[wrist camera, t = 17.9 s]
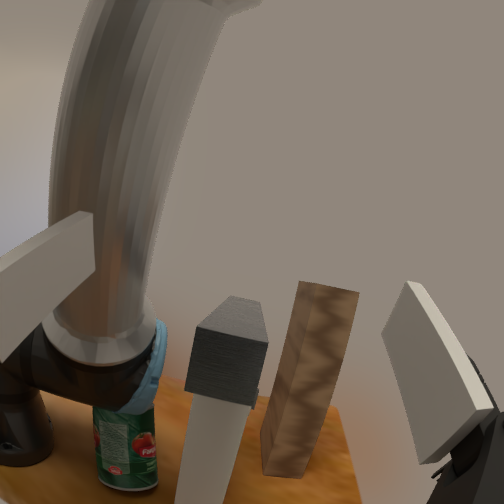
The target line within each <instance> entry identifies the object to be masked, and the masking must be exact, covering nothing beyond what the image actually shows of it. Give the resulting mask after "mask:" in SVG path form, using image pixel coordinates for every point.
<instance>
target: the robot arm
mask: <svg viewBox="0 0 504 504" xmlns="http://www.w3.org/2000/svg"><path fill="white" fill-rule="evenodd" d="M262 1H263V0H89V2H88V5H87V7H86V10H85V13H84V15H83V18H82V22H81V24H80V26H79V30H78V33H77V36H76V39H75V42H74V45H73V48H72V52H71V55H70V59H69V63H68V67H67V70H66V74H65V78H64V83H63V88H62V92H61V97H60V102H59V107H58V113H57V118H56V125H55V132H54V140H53V147H52V157H51V168H50V181H49V205H48V206H49V207H48V212H49V213H48V228H47V229H45V230H44V231H42V232H40V233H38V234H37V235H35V236H34V237H32V238H30V239H28V240H27V241H25V242H24V243H22V244H20V245H19V246H17V247H15V248H14V249H12V250H11V251H9V252H8V253H6V254H5V255H3V256H2V257H0V464H3V465H8V466H27V465H32V464H35V463H37V462H40V461H42V460H43V459H45V458H46V457H47V456H48V455H49V454H50V453H51V451H52V449H53V446H54V432H53V425H52V422H51V420H50V417H49V416H48V414H47V413H46V410H45V406H44V403H43V400H42V397H41V394H40V390H42V391H45V392H48V393H51V394H54V395H57V396H60V397H63V398H66V399H70V400H73V401H76V402H80V403H83V404H87V405H90V406H94V407H98V408H102V409H106V410H110V411H112V412H113V413H116V414H117V413H118V414H119V413H126V414H132V415H140V414H143V413H145V412H146V411H147V410H148V409H149V408H150V406H151V404H152V402H153V400H154V398H155V395H156V392H157V389H158V383H159V378H160V377H161V373H162V370H163V365H164V360H165V354H166V347H167V327H166V325H165V324H164V322H162V321H160V320H158V319H157V318H156V314H155V310H154V307H153V304H152V303H151V301H150V299H149V298H148V296H147V295H146V294H145V293H146V286H147V282H148V276H149V271H150V266H151V261H152V256H153V251H154V246H155V241H156V237H157V232H158V228H159V223H160V219H161V215H162V211H163V206H164V203H165V198H166V194H167V191H168V187H169V183H170V179H171V175H172V172H173V168H174V165H175V161H176V158H177V154H178V151H179V148H180V144H181V141H182V137H183V135H184V131H185V128H186V125H187V122H188V119H189V115H190V113H191V110H192V107H193V104H194V101H195V98H196V95H197V92H198V89H199V86H200V84H201V81H202V78H203V75H204V73H205V70H206V67H207V65H208V62H209V60H210V57H211V54H212V52H213V50H214V47H215V45H216V42H217V40H218V37H219V35H220V33H221V30H222V28H223V26H224V23H225V22H226V20H228V18H229V17H230V16H233V15H235V14H238V13H240V12H243V11H246V10H249V9H252V8H254V7H257V6H258V5H260V4H261V3H262ZM381 335H382V338H383V341H384V343H385V346H386V349H387V352H388V355H389V358H390V361H391V364H392V367H393V370H394V373H395V376H396V380H397V383H398V386H399V389H400V393H401V396H402V399H403V403H404V406H405V410H406V413H407V417H408V421H409V424H410V428H411V432H412V436H413V440H414V444H415V448H416V452H417V456H418V461H419V464H420V465H422V464H429V463H436V462H438V461H440V460H441V459H442V458H443V457H445V456H446V455H447V454H448V453H449V452H450V454H451V458H452V459H451V460H450V461H449V462H448V463H447V464H445V465H444V466H443V467H442V468H440V469H439V470H438V471H436V472H435V473H434V474H433V476H432V477H431V478H433V479H434V478H435V477H436V476H437V475H439V474H440V473H442V474H441V476H440V478H439V479H438V480H437V484H436V486H435V489H434V490H433V492H432V494H431V496H430V498H429V500H428V502H427V504H504V412H501V413H500V411H499V409H498V407H497V405H496V403H495V401H494V399H493V397H492V395H491V393H490V391H489V389H488V387H487V385H486V383H484V379H483V377H482V375H480V374H479V373H480V372H479V370H478V368H477V366H476V365H475V363H474V361H473V360H472V359H471V358H470V357H469V356H468V355H467V354H466V353H465V352H464V350H463V348H462V347H461V345H460V343H459V341H458V340H457V338H456V336H455V335H454V333H453V332H452V330H451V328H450V327H449V325H448V324H447V322H446V320H445V319H444V317H443V316H442V314H441V313H440V311H439V310H438V308H437V306H436V305H435V303H434V302H433V300H432V299H431V297H430V296H429V295H428V293H427V292H426V290H425V289H424V287H423V286H422V285H421V284H420V283H415V282H411V281H406V282H405V284H404V287H403V289H402V291H401V294H400V296H399V298H398V300H397V302H396V304H395V307H394V309H393V311H392V313H391V315H390V317H389V319H388V321H387V323H386V325H385V327H384V329H383V331H382V333H381Z"/></svg>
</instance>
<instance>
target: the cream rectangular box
mask: <svg viewBox="0 0 504 504" xmlns="http://www.w3.org/2000/svg"><path fill="white" fill-rule="evenodd" d="M258 393H259V389H258V388H257V391H256V395H255V399H254V403H253V406H252V407H251V406H246V405H241V404H237V403H232V402H227V401H223V400H219V399H214V398H210V397H206V396H202V395H198V394H195V393H194V395H193V400H192V405H191V410H190V416H189V421H188V426H187V432H186V437H185V443H184V449H183V454H182V460H181V466H180V472H179V478H178V484H177V490H176V496H175V502H174V504H223V500H224V497H225V494H226V490H227V487H228V484H229V480H230V477H231V473H232V470H233V466H234V463H235V459H236V456H237V452H238V449H239V445H240V441H241V438H242V434H243V431H244V427H245V423H246V419H247V416H249V413H250V410H251V409H253V410H254V408H255V404H256V400H257V396H258Z"/></svg>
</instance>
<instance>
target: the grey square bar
mask: <svg viewBox="0 0 504 504" xmlns="http://www.w3.org/2000/svg"><path fill="white" fill-rule="evenodd" d="M268 343H269V342H268V337H267V333H266V328H265V323H264V319H263V314H262V310H261V305H260V302H257V301H252V300H247V299H243V298H239V297H235V296H230V297H228V298H227V299H226V300H225V301H224V302H223V303H222V304H221V305H220V306H219V307H217V308H216V309H215V310H214V311H213V312H212V313H211V314H210V315H209V316H208V317H206V318H205V319H204V320H203V321H202V322H201V323H200V324H199V325H197V327H196V332H195V337H194V342H193V347H192V352H191V357H190V362H189V367H188V373H187V378H186V383H185V388H184V391H187V392H191V393H195V394H198V395H202V396H206V397H210V398H214V399H219V400H223V401H227V402H232V403H237V404H241V405H246V406H251V407H252V406H253V403H254V399H255V395H256V391H257V387H258V383H259V379H260V376H261V372H262V368H263V364H264V360H265V356H266V351H267V348H268Z"/></svg>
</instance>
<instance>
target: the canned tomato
mask: <svg viewBox="0 0 504 504" xmlns="http://www.w3.org/2000/svg"><path fill="white" fill-rule="evenodd" d="M92 407H93V413H92V414H93V427H94V440H95V451H96V461H97V469H98V478H99V480H100V481H101V482H102V483H103V484H105V485H107V486H109V487H111V488H114V489H118V490H124V491H142V490H147V489H151V488H153V487H155V486H156V485H157V484H158V474H157V461H156V445H155V427H154V425H155V423H154V404H153V403H152V404H151V406H150V408H149V409H148V410H147V411H146V412H145V413H143V414H140V415H132V414H126V413H119V414H118V413H117V414H116V413H113V412H112V411H110V410H106V409H102V408H98V407H94V406H92Z"/></svg>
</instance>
